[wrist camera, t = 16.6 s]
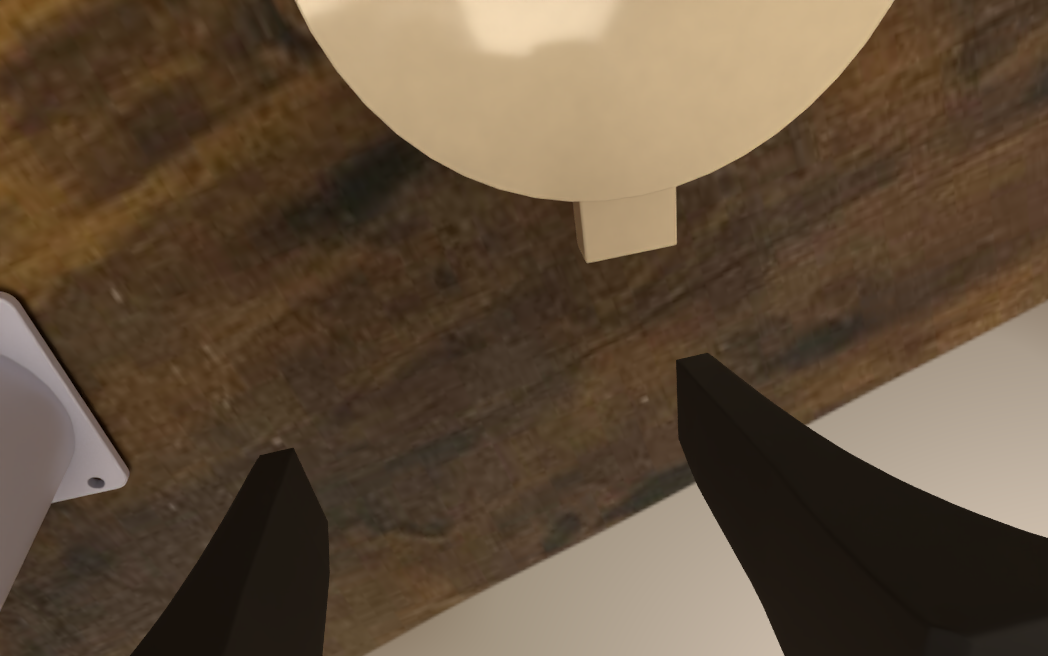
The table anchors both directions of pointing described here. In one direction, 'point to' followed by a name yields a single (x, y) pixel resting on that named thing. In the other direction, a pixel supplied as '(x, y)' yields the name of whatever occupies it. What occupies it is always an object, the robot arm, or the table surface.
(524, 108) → the lid
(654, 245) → the pot
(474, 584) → the table surface
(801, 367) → the table surface
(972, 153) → the table surface
